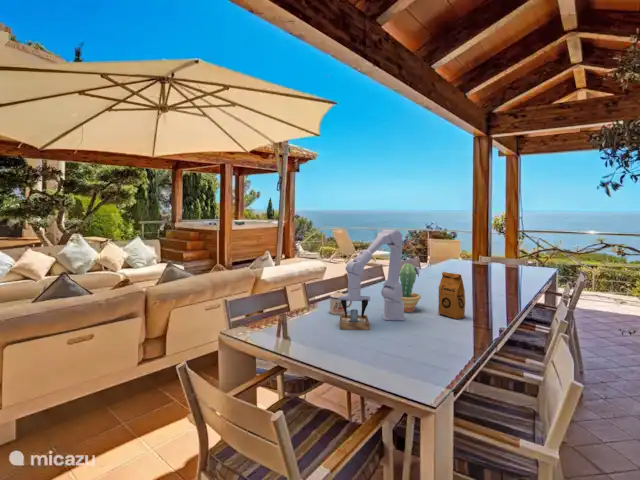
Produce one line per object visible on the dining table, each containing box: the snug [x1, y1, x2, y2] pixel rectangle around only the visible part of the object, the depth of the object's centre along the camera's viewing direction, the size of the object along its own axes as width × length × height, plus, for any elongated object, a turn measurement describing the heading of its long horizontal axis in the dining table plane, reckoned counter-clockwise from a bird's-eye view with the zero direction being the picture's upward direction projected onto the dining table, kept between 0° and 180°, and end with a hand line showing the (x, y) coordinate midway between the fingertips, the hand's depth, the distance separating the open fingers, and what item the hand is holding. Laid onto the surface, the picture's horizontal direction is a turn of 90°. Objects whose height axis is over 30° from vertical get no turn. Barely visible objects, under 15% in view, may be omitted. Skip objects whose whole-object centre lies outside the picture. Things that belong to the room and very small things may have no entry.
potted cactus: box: [399, 263, 422, 313], centre depth 198 cm, size 15×15×25 cm
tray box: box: [339, 314, 370, 331], centre depth 171 cm, size 13×13×3 cm
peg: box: [349, 308, 359, 323], centre depth 171 cm, size 3×3×7 cm
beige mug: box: [329, 290, 353, 316], centre depth 193 cm, size 12×9×12 cm
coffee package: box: [437, 271, 466, 320], centre depth 186 cm, size 10×12×22 cm
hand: (354, 316), depth 171 cm, fingers open, 7 cm apart
